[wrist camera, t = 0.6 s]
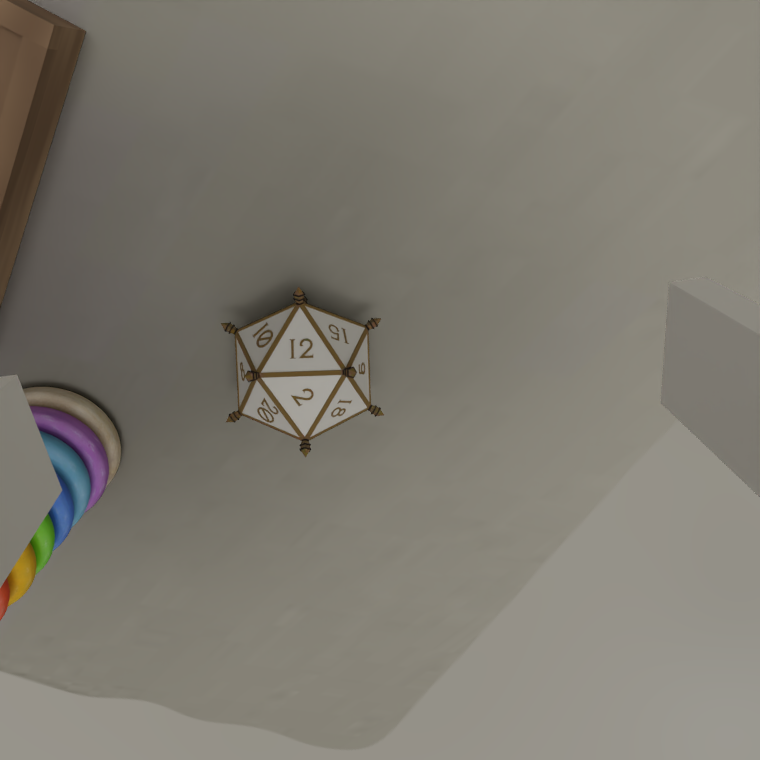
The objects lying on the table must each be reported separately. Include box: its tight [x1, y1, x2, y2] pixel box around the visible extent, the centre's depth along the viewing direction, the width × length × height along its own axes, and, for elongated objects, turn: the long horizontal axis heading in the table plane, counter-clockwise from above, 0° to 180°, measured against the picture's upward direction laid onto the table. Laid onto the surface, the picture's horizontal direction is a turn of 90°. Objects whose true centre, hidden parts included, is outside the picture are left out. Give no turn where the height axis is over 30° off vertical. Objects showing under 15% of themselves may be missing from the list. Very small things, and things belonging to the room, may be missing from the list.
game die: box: [221, 287, 384, 457], centre depth 35 cm, size 9×8×10 cm
